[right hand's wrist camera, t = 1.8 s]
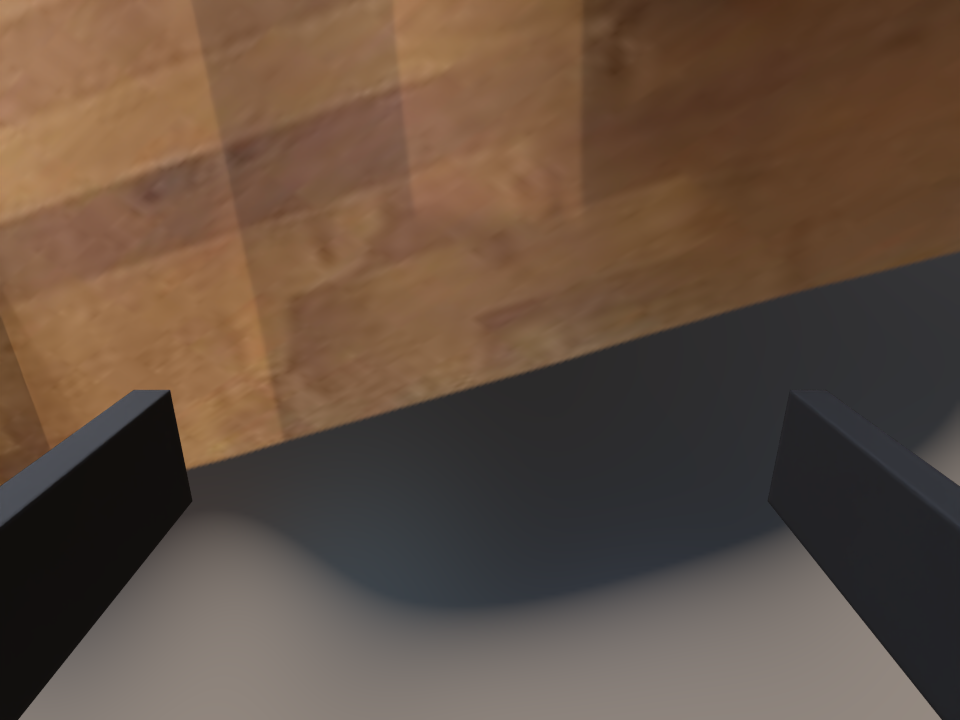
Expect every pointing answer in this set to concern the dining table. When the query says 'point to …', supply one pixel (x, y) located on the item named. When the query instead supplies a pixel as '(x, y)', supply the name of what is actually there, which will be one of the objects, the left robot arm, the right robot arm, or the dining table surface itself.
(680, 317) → the dining table surface
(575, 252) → the dining table surface
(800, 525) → the right robot arm
